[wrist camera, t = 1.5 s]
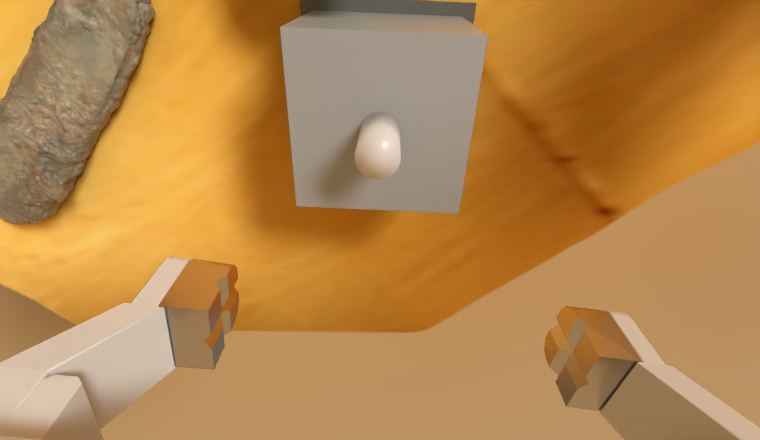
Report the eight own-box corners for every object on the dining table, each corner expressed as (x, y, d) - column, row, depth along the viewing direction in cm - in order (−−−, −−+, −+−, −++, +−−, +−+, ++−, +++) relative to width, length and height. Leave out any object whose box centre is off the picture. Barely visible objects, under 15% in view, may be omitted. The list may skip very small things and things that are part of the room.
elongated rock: (194, 14, 39) (99, -69, 36) (166, 15, 34) (55, -81, 31) (57, 235, 52) (-21, 186, 49) (24, 257, 47) (-65, 205, 44)
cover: (462, 16, 36) (506, 48, 22) (444, 155, 44) (467, 249, 29) (312, 10, 37) (257, 37, 22) (320, 150, 44) (281, 240, 29)
